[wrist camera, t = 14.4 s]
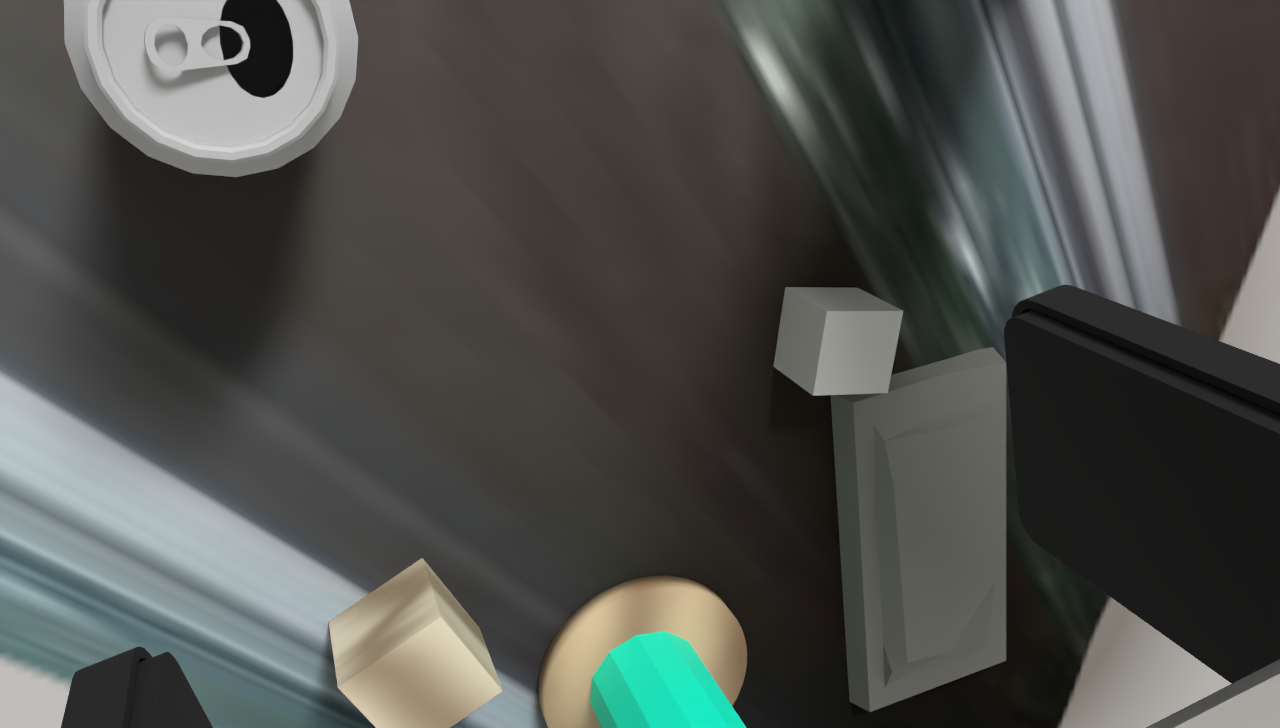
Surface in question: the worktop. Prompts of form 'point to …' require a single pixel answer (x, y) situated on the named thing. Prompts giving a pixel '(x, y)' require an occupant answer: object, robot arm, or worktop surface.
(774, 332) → the worktop surface
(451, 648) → the maple cube
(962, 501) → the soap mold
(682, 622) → the disc
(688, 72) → the worktop surface
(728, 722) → the candle
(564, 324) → the worktop surface
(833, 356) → the grey stone block
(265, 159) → the can
